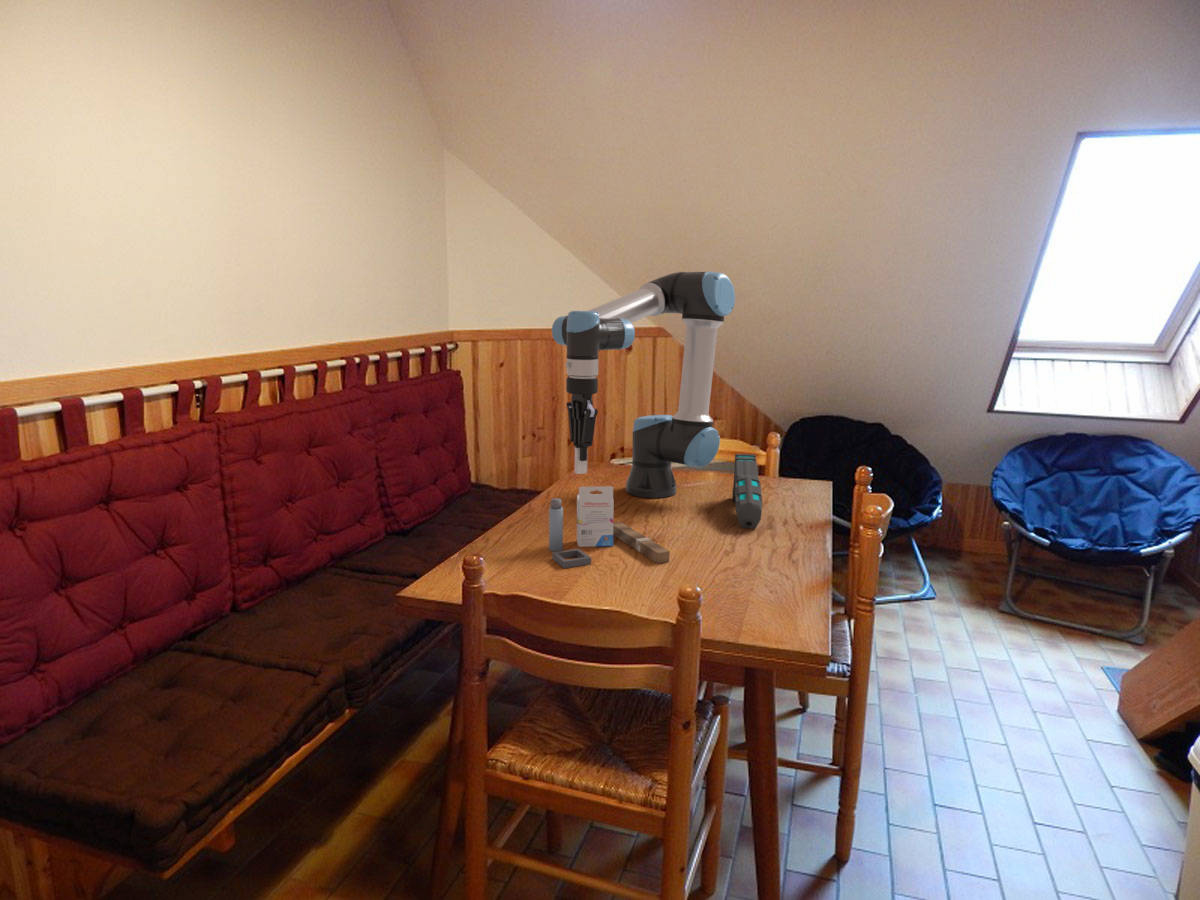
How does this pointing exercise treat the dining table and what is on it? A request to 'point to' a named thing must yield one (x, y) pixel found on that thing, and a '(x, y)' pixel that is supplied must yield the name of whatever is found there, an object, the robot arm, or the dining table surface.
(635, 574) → the dining table surface
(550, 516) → the blue bottle
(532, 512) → the dining table surface
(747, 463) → the gun
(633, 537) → the grey-brown long bar
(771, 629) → the dining table surface
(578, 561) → the holder
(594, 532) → the ink box
